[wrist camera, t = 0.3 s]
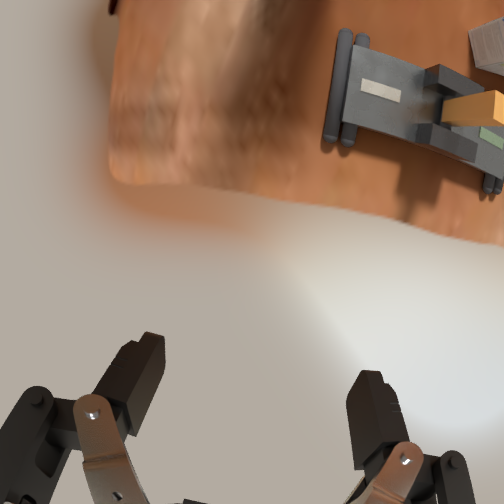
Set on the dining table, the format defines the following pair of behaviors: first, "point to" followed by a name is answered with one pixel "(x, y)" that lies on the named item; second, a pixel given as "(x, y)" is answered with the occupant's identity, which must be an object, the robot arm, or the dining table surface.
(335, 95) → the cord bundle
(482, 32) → the light bulb box
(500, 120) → the breaker lever
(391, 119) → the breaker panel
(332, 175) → the dining table surface
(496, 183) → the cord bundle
